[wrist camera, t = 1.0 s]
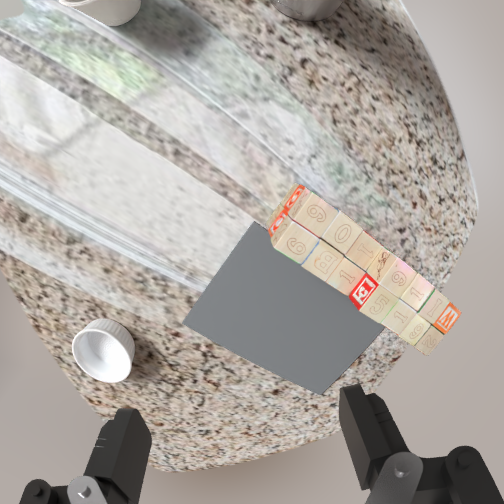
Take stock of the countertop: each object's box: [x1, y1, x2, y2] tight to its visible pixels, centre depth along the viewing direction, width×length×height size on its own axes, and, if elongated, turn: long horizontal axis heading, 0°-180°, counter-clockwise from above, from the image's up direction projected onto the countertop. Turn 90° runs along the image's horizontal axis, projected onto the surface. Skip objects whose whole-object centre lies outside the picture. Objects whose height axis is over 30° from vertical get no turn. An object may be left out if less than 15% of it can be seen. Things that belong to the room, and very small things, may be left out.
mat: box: [182, 221, 385, 395], centre depth 40 cm, size 16×24×1 cm, turn 55°
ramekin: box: [72, 318, 135, 383], centre depth 38 cm, size 9×9×4 cm
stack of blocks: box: [266, 182, 461, 356], centre depth 32 cm, size 21×6×12 cm, turn 56°
